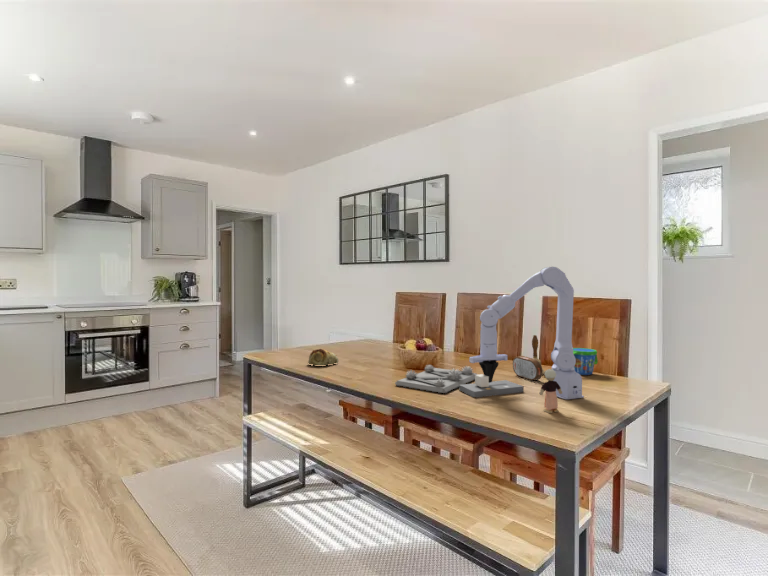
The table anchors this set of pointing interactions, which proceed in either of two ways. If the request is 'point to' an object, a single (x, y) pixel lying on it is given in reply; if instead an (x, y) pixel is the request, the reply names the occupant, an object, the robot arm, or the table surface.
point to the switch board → (491, 388)
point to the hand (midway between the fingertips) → (488, 381)
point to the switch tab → (482, 380)
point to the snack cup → (585, 360)
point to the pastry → (322, 357)
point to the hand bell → (535, 346)
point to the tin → (527, 368)
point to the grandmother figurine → (550, 392)
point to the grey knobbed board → (437, 379)
